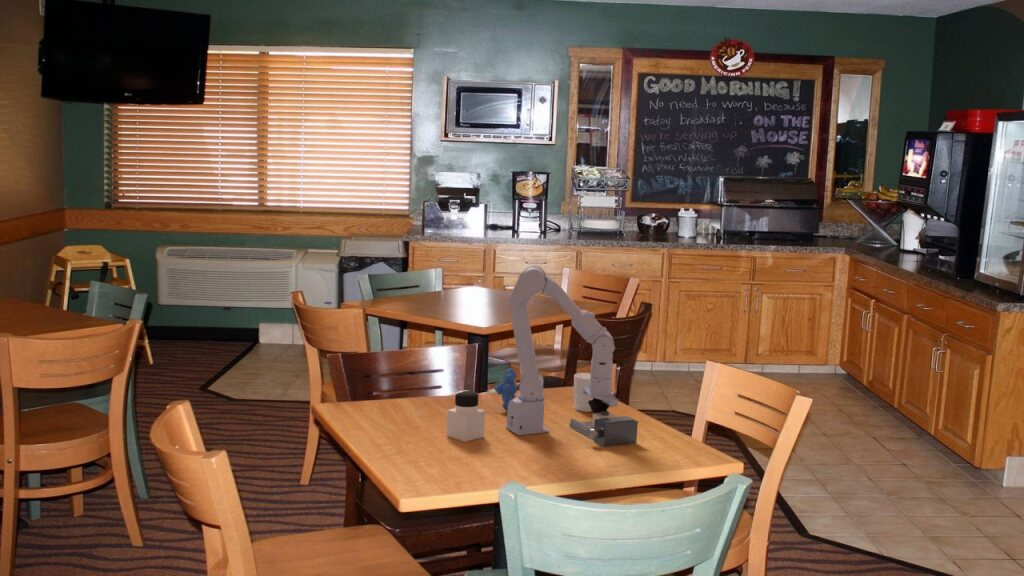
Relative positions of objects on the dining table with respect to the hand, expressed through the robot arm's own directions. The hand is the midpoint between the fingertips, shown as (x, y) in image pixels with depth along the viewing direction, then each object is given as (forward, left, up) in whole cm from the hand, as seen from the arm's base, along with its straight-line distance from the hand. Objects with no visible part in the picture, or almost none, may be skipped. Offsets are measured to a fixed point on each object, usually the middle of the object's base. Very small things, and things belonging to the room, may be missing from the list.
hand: (598, 426), depth 260 cm
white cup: (+10, +23, -2) cm, 25 cm away
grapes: (-13, +30, -2) cm, 33 cm away
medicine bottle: (-35, +9, -2) cm, 36 cm away
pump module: (0, -3, -1) cm, 3 cm away
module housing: (-2, -2, -2) cm, 3 cm away
